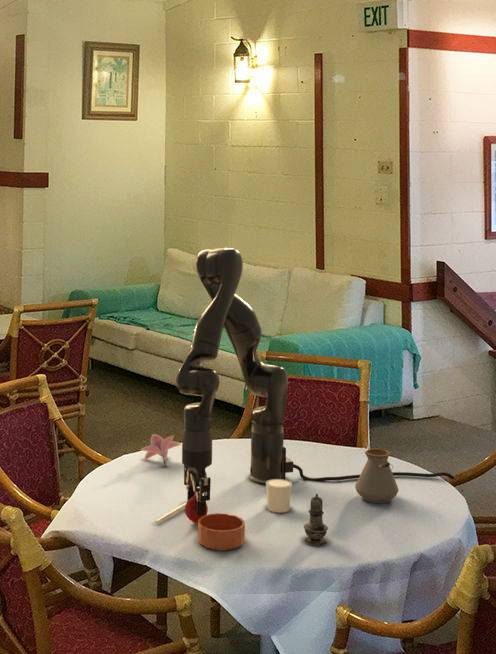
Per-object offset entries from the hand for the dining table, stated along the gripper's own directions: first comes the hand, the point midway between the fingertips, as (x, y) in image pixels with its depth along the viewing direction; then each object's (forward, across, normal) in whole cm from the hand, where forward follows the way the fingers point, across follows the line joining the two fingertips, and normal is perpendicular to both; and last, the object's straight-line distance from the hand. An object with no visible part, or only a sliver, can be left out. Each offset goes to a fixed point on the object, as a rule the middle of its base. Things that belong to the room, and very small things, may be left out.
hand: (196, 509), depth 243 cm
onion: (+4, 0, 0) cm, 4 cm away
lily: (+4, +48, -5) cm, 48 cm away
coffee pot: (+4, -2, -51) cm, 51 cm away
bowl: (+4, -12, -2) cm, 13 cm away
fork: (+4, +8, +2) cm, 10 cm away
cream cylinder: (+4, +4, -24) cm, 25 cm away
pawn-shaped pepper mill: (+4, -18, -24) cm, 31 cm away
